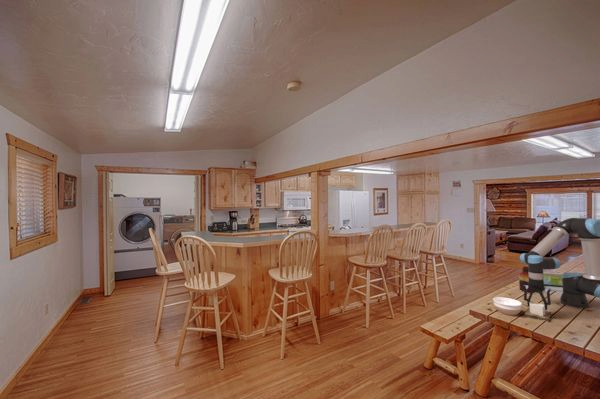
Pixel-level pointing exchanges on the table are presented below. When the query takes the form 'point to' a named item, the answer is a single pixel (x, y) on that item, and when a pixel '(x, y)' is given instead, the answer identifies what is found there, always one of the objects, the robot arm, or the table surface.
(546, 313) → the board
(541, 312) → the cube
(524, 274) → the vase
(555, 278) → the tea box
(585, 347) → the table surface
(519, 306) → the bowl
